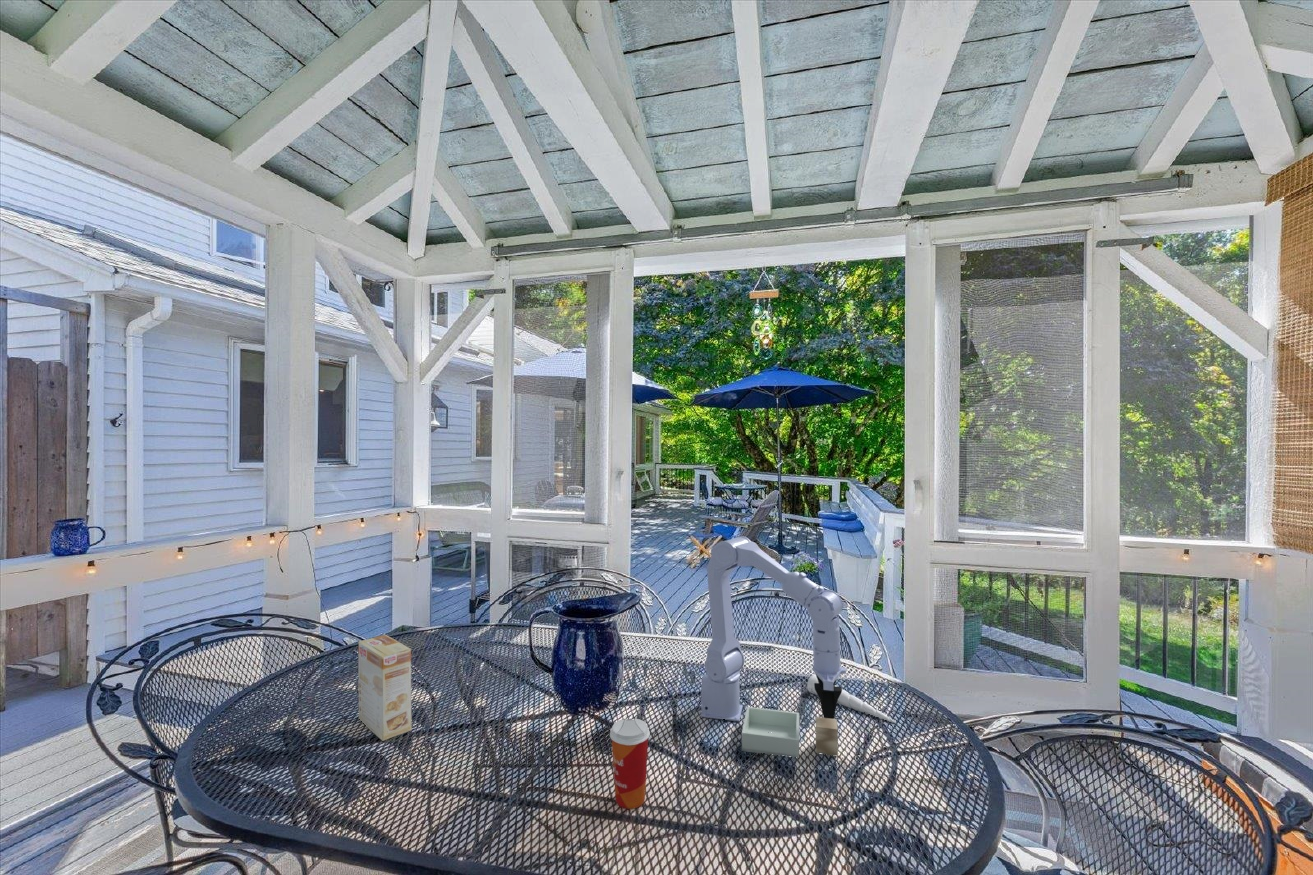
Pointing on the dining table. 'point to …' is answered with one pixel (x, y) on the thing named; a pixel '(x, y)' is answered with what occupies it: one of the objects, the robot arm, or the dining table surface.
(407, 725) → the coffeecake box
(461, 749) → the dining table surface
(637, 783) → the paper cup
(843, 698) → the unicorn horn
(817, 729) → the birch block
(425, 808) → the dining table surface
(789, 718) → the bin
